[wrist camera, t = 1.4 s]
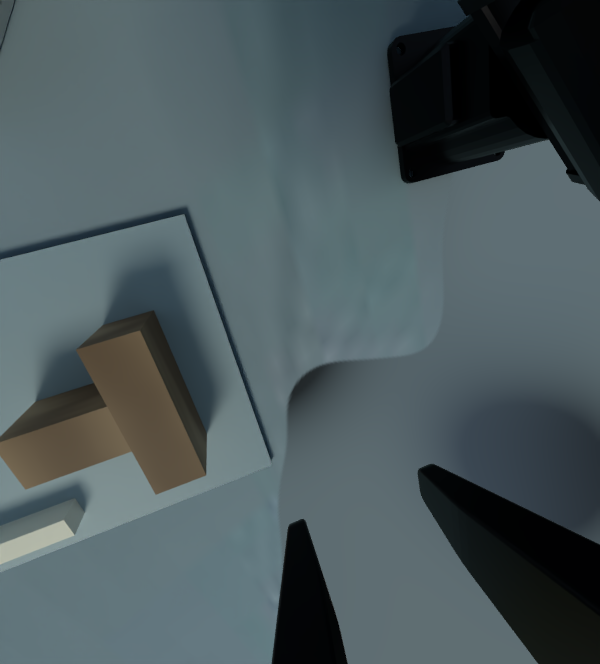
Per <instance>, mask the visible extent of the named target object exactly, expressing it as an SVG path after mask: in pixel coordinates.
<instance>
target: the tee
mask: <svg viewBox="0 0 600 664" xmlns="http://www.w3.org/2000/svg"><path fill="white" fill-rule="evenodd" d="M76 351H77V353H78V355H79V357H80V358H81V360H82V362H83V364H84V366H85V368H86V369H87V371H88V373H89V375H90V377H91V378H92V380H93V382H94V383H92V384H89V385H86V386H83V387H80V388H76V389H73V390H70V391H67V392H64V393H61V394H58V395H55V396H51V397H48V398H45V399H42V400H39V401H36V402H34V403H33V404H32V405H31V406H30V407H29V408H28V409H27V410H26V411H25V412H24V413H23V414H22V415H21V416H20V417H19V418H18V419H17V420H16V421H15V422H14V423H13V424H12V425H11V426H10V427H9V428H8V429H7V430H6V431H5V432H4V433H3V434H2V435H1V436H0V456H1V458H2V459H3V460H4V462H5V463H6V464H7V466H8V467H9V469H10V470H11V471H12V473H13V474H14V475H15V477H16V478H17V479H18V481H19V482H20V483H21V485H22V486H23V487H24V489H25V490H26V489H29V488H32V487H34V486H37V485H40V484H43V483H46V482H48V481H51V480H54V479H57V478H59V477H62V476H65V475H68V474H71V473H73V472H76V471H79V470H82V469H85V468H87V467H90V466H93V465H96V464H98V463H101V462H104V461H107V460H110V459H112V458H115V457H118V456H121V455H124V454H126V453H129V452H132V453H133V455H134V456H135V458H136V460H137V462H138V464H139V466H140V467H141V469H142V471H143V473H144V475H145V476H146V478H147V480H148V482H149V484H150V485H151V487H152V489H153V491H154V493H155V495H157V494H159V493H162V492H165V491H167V490H170V489H172V488H175V487H178V486H180V485H183V484H185V483H188V482H191V481H193V480H196V479H198V478H201V477H204V476H206V465H207V433H206V430H205V428H204V426H203V423H202V421H201V419H200V416H199V414H198V412H197V409H196V407H195V405H194V402H193V400H192V398H191V395H190V393H189V391H188V388H187V386H186V384H185V381H184V379H183V377H182V374H181V372H180V370H179V367H178V365H177V363H176V360H175V358H174V356H173V353H172V351H171V349H170V346H169V344H168V342H167V339H166V337H165V335H164V332H163V330H162V328H161V326H160V323H159V321H158V319H157V316H156V314H155V312H154V310H152V311H149V312H146V313H142V314H139V315H135V316H132V317H129V318H125V319H122V320H118V321H115V322H111V323H108V324H105V325H102V326H101V327H100V328H99V329H98V330H97V331H96V332H95V333H94V334H93V335H91V336H90V337H89V338H88V339H87V340H86V341H85V342H84V343H83V344H82V345H80V346H79V347H78V348H77V349H76Z"/></svg>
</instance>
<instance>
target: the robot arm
mask: <svg viewBox="0 0 600 664" xmlns="http://www.w3.org/2000/svg"><path fill="white" fill-rule="evenodd" d="M458 4H459V5H460V7H461V8H462V10H463V11H464V13H465V15H466V16H468V15H469V16H468V17H467V18H465V19H464V20H463V21H462V22H461V23H459V24H458V25H457V26H454V27H449V28H443V29H438V30H432V31H426V32H421V33H415V34H409V35H404V36H399V37H397V38H396V39H395V40H394V41H393V42H392V43H391V44H390V45H389V48H388V64H389V73H390V82H391V88H390V99H391V107H392V116H393V125H394V134H395V142H396V144H397V145H398V154H399V163H400V172H401V178H402V180H403V181H404V182H405V183H414V182H418V181H421V180H425V179H429V178H433V177H437V176H440V175H444V174H448V173H452V172H456V171H459V170H463V169H467V168H471V167H475V166H478V165H482V164H486V163H489V162H494V161H497V160H500V159H501V158H502V157H503V155H504V153H505V151H506V150H510V149H514V148H518V147H522V146H525V145H530V144H533V143H537V142H540V141H545V140H550V142H551V143H552V145H553V146H554V148H555V150H556V151H557V153H558V154H559V156H560V157H561V159H562V161H563V162H564V164H565V166H566V167H567V170H566V173H567V175H568V176H569V178H570V179H571V181H572V182H575V183H579V184H584V185H586V187H587V189H588V190H589V191H590V192H591V193H592V194H593V195H594V196H595V197H596V198H597V199H598V200H599V201H600V0H458ZM396 47H399V48H400V50H401V55H399V54H398V53H397V51H396ZM410 169H411V170H412V171H413V176H412V177H410V176H409V170H410ZM418 479H419V487H420V492H421V496H422V498H423V500H424V502H425V504H426V505H427V507H428V509H429V510H430V512H431V513H432V515H433V517H434V518H435V520H436V521H437V523H438V525H439V526H440V528H441V529H442V531H443V533H444V534H445V536H446V538H447V539H448V541H449V542H450V544H451V546H452V547H453V549H454V550H455V552H456V554H457V555H458V557H459V558H460V560H461V561H462V563H463V564H464V565H465V567H466V568H467V570H468V571H469V573H470V574H471V575H472V576H473V578H474V579H475V580H476V582H477V583H478V584H479V586H480V587H481V588H482V590H483V591H484V592H485V594H486V595H487V596H488V598H489V599H490V600H491V602H492V603H493V604H494V606H495V607H496V608H497V610H498V611H499V612H500V614H501V615H502V616H503V618H504V619H505V620H506V622H507V623H508V624H509V626H510V627H511V628H512V630H513V631H514V632H515V633H516V635H517V636H518V638H519V639H520V640H521V641H522V643H523V644H524V645H525V647H526V648H527V649H528V651H529V652H530V653H531V655H532V656H533V657H534V659H535V660H536V661H537V663H538V664H600V544H598V543H595V542H594V541H591V540H589V539H587V538H585V537H583V536H581V535H579V534H577V533H575V532H573V531H571V530H569V529H567V528H565V527H563V526H561V525H558V524H556V523H554V522H552V521H550V520H548V519H546V518H544V517H542V516H540V515H538V514H536V513H534V512H532V511H530V510H528V509H525V508H523V507H521V506H519V505H517V504H515V503H513V502H511V501H509V500H507V499H505V498H502V497H501V496H499V495H497V494H495V493H493V492H491V491H488V490H486V489H484V488H482V487H480V486H478V485H476V484H474V483H472V482H470V481H468V480H466V479H464V478H462V477H460V476H458V475H455V474H453V473H451V472H449V471H447V470H445V469H443V468H441V467H439V466H437V465H435V464H429V465H426V466H424V467H422V468H420V469H419V470H418ZM272 664H348V663H347V658H346V654H345V649H344V645H343V640H342V636H341V632H340V628H339V624H338V620H337V617H336V613H335V610H334V607H333V604H332V601H331V598H330V595H329V592H328V589H327V585H326V582H325V579H324V576H323V573H322V570H321V567H320V564H319V561H318V558H317V555H316V552H315V549H314V545H313V543H312V539H311V536H310V533H309V530H308V527H307V524H306V521H305V520H304V519H300V520H298V521H296V522H294V523H291V524H290V525H289V527H288V532H287V540H286V549H285V557H284V565H283V573H282V582H281V590H280V598H279V607H278V615H277V623H276V632H275V640H274V648H273V657H272Z"/></svg>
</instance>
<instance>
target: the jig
mask: <svg viewBox="0 0 600 664" xmlns="http://www.w3.org/2000/svg"><path fill="white" fill-rule="evenodd" d="M152 310H154V312H155V314H156V316H157V319H158V321H159V323H160V326H161V328H162V330H163V332H164V335H165V337H166V339H167V342H168V344H169V346H170V349H171V351H172V353H173V356H174V358H175V360H176V363H177V365H178V367H179V370H180V372H181V374H182V377H183V379H184V381H185V384H186V386H187V388H188V391H189V393H190V395H191V398H192V400H193V402H194V405H195V407H196V409H197V412H198V414H199V416H200V419H201V421H202V423H203V426H204V428H205V430H206V433H207V465H206V476H204V477H201V478H198V479H196V480H193V481H191V482H188V483H185V484H183V485H180V486H178V487H175V488H172V489H170V490H167V491H165V492H162V493H159V494H157V495H155V493H154V491H153V489H152V487H151V485H150V484H149V482H148V480H147V478H146V476H145V475H144V473H143V471H142V469H141V467H140V466H139V464H138V462H137V460H136V458H135V456H134V455H133V453H132V452H129V453H126V454H124V455H121V456H118V457H115V458H112V459H110V460H107V461H104V462H101V463H98V464H96V465H93V466H90V467H87V468H85V469H82V470H79V471H76V472H73V473H71V474H68V475H65V476H62V477H59V478H57V479H54V480H51V481H48V482H46V483H43V484H40V485H37V486H34V487H32V488H29V489H26V490H25V489H24V487H23V486H22V485H21V483H20V482H19V481H18V479H17V478H16V477H15V475H14V474H13V473H12V471H11V470H10V469H9V467H8V466H7V464H6V463H5V462H4V460H3V459H2V458H1V456H0V572H2V571H5V570H7V569H10V568H13V567H15V566H18V565H20V564H23V563H25V562H28V561H30V560H33V559H35V558H38V557H40V556H43V555H46V554H48V553H51V552H53V551H56V550H58V549H61V548H63V547H66V546H68V545H71V544H74V543H76V542H79V541H81V540H84V539H86V538H89V537H91V536H94V535H96V534H99V533H101V532H104V531H107V530H109V529H112V528H114V527H117V526H119V525H122V524H124V523H127V522H129V521H132V520H135V519H137V518H140V517H142V516H145V515H147V514H150V513H152V512H155V511H157V510H160V509H162V508H165V507H168V506H170V505H173V504H175V503H178V502H180V501H183V500H185V499H188V498H190V497H193V496H196V495H198V494H201V493H203V492H206V491H208V490H211V489H213V488H216V487H218V486H221V485H223V484H226V483H229V482H231V481H234V480H236V479H239V478H241V477H244V476H246V475H249V474H251V473H254V472H257V471H259V470H262V469H264V468H267V467H269V466H272V462H271V459H270V456H269V453H268V451H267V448H266V445H265V442H264V439H263V436H262V434H261V431H260V428H259V425H258V422H257V419H256V416H255V414H254V411H253V408H252V405H251V402H250V399H249V397H248V394H247V391H246V388H245V385H244V382H243V379H242V377H241V374H240V371H239V368H238V365H237V362H236V359H235V357H234V354H233V351H232V348H231V345H230V342H229V340H228V337H227V334H226V331H225V328H224V325H223V322H222V320H221V317H220V314H219V311H218V308H217V305H216V303H215V300H214V297H213V294H212V291H211V288H210V285H209V283H208V280H207V277H206V274H205V271H204V268H203V265H202V263H201V260H200V257H199V254H198V251H197V248H196V246H195V243H194V240H193V237H192V234H191V231H190V228H189V226H188V223H187V220H186V217H185V214H183V215H179V216H175V217H171V218H166V219H162V220H158V221H154V222H150V223H146V224H142V225H138V226H134V227H130V228H126V229H122V230H118V231H114V232H110V233H106V234H102V235H98V236H94V237H90V238H86V239H82V240H78V241H74V242H70V243H66V244H62V245H58V246H54V247H50V248H46V249H42V250H38V251H34V252H30V253H26V254H22V255H17V256H13V257H9V258H5V259H1V260H0V436H1V435H2V434H3V433H4V432H5V431H6V430H7V429H8V428H9V427H10V426H11V425H12V424H13V423H14V422H15V421H16V420H17V419H18V418H19V417H20V416H21V415H22V414H23V413H24V412H25V411H26V410H27V409H28V408H29V407H30V406H31V405H32V404H33V403H34V402H36V401H39V400H42V399H45V398H48V397H51V396H55V395H58V394H61V393H64V392H67V391H70V390H73V389H76V388H80V387H83V386H86V385H89V384H92V383H94V382H93V380H92V378H91V377H90V375H89V373H88V371H87V369H86V368H85V366H84V364H83V362H82V360H81V358H80V357H79V355H78V353H77V351H76V349H77V348H78V347H79V346H80V345H82V344H83V343H84V342H85V341H86V340H87V339H88V338H89V337H90V336H91V335H93V334H94V333H95V332H96V331H97V330H98V329H99V328H100V327H101V326H102V325H105V324H108V323H111V322H115V321H118V320H122V319H125V318H129V317H132V316H135V315H139V314H142V313H146V312H149V311H152Z"/></svg>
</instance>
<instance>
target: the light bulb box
mask: <svg viewBox="0 0 600 664" xmlns="http://www.w3.org/2000/svg"><path fill="white" fill-rule="evenodd" d="M13 4H14V0H0V47H1V44H2V41H3V38H4V34H5V31H6V27H7V24H8V20H9V17H10V14H11V11H12V8H13Z"/></svg>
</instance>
